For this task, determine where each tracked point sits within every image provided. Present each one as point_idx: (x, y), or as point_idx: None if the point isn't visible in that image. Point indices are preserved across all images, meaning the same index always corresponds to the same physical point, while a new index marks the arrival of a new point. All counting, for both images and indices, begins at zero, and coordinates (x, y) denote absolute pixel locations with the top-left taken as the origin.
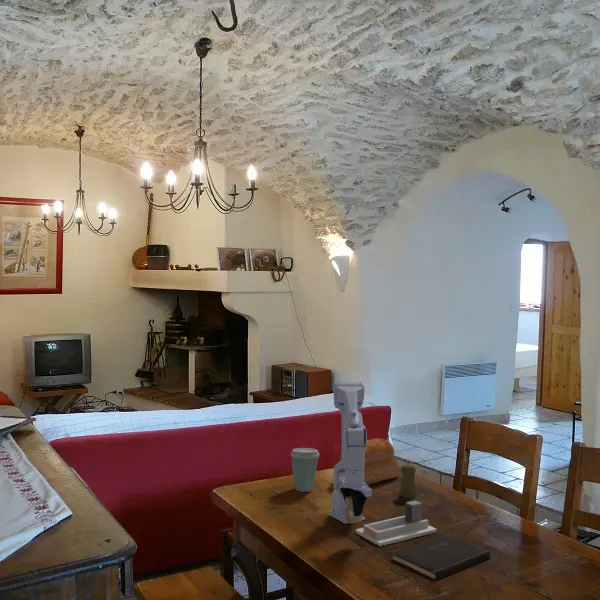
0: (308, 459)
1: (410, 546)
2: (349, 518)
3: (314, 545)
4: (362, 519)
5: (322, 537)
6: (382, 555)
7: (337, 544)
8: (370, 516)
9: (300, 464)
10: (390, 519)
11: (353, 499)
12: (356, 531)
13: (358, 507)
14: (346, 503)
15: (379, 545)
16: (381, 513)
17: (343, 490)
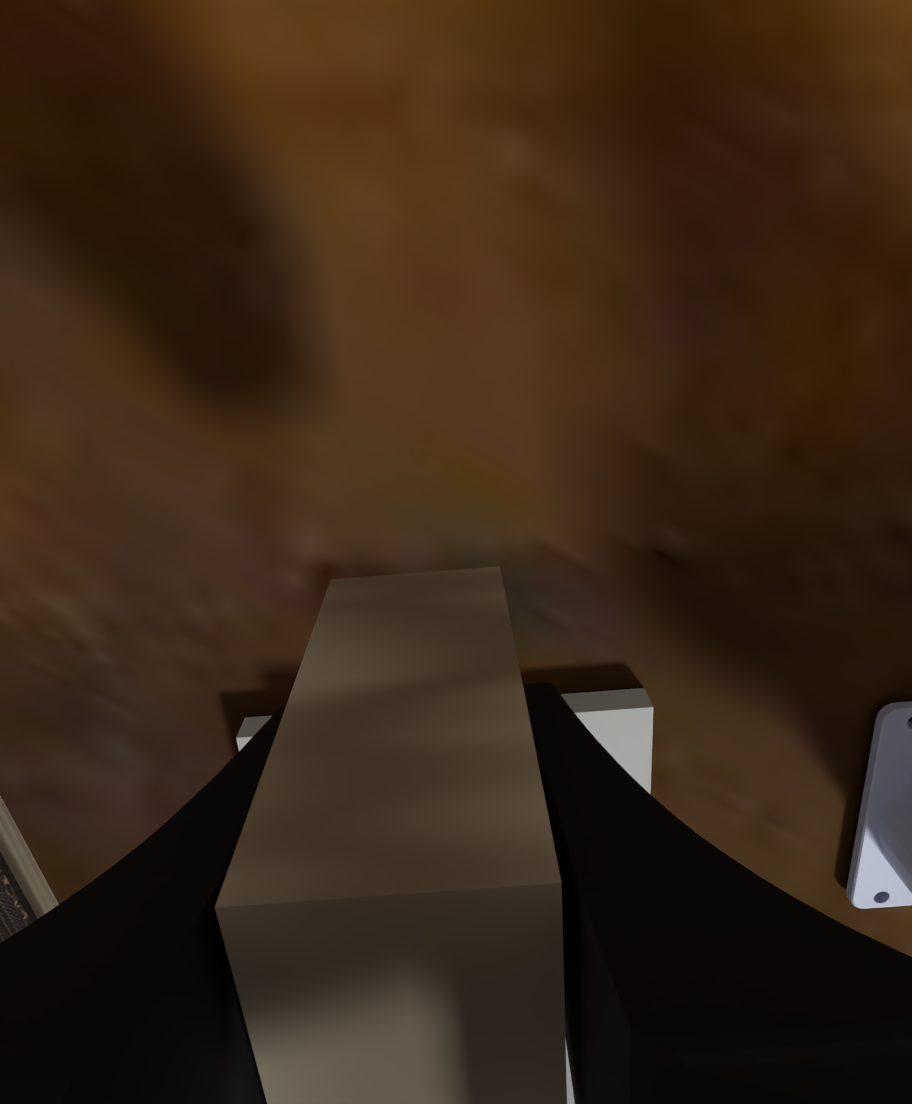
0: None
1: (14, 907)
2: (374, 607)
3: (578, 56)
4: (851, 878)
5: (736, 300)
6: (43, 638)
7: (470, 362)
8: None
9: None
10: (566, 1046)
11: (65, 962)
12: (633, 698)
13: None
14: (486, 755)
15: (249, 722)
16: None
17: (676, 1076)
